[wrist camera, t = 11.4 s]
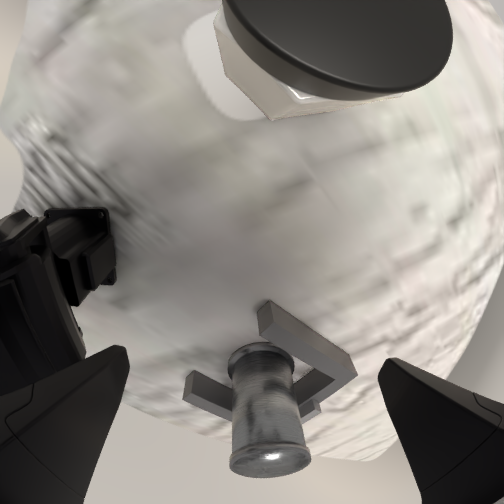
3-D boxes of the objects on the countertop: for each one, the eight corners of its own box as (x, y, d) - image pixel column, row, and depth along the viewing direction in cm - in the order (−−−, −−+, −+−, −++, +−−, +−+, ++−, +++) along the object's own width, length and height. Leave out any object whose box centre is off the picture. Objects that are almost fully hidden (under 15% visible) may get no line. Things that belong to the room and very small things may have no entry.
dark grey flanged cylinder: (223, 382, 27) (221, 477, 16) (233, 338, 24) (233, 446, 14) (283, 388, 27) (298, 477, 17) (301, 345, 25) (328, 446, 15)
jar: (370, 81, 16) (489, 50, 5) (290, 145, 18) (364, 158, 7) (287, -4, 13) (332, -105, 2) (201, 56, 15) (154, -36, 4)
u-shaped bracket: (186, 377, 26) (180, 410, 22) (270, 300, 23) (276, 333, 19) (265, 414, 29) (268, 444, 25) (349, 354, 26) (362, 385, 22)
